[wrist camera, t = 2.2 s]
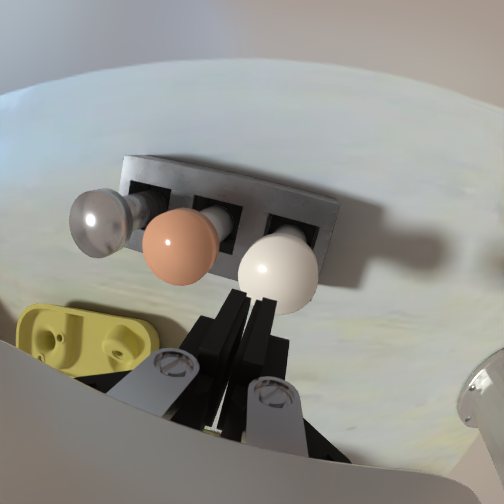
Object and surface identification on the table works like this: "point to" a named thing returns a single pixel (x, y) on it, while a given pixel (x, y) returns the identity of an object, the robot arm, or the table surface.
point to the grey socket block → (235, 192)
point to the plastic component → (84, 339)
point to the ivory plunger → (280, 270)
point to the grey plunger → (111, 219)
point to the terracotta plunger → (185, 243)
